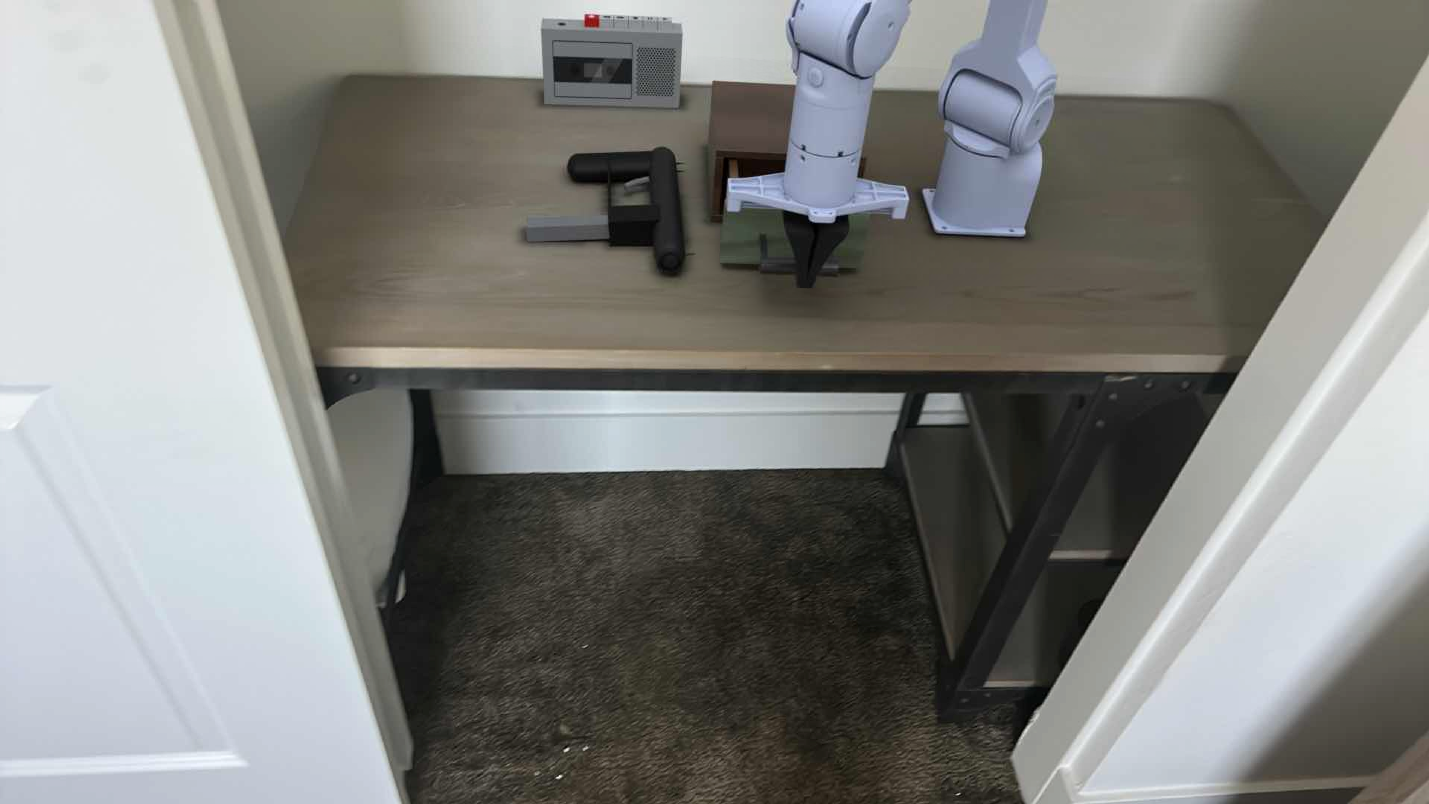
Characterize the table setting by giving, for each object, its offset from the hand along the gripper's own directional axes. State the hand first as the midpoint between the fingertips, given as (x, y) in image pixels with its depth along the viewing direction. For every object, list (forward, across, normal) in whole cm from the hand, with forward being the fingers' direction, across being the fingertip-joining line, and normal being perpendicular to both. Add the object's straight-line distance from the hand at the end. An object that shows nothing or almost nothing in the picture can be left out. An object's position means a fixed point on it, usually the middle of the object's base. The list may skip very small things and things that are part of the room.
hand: (803, 281), depth 89 cm
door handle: (+5, -17, +16) cm, 24 cm away
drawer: (+4, 0, +12) cm, 13 cm away
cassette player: (+5, -18, +41) cm, 45 cm away
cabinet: (+5, 0, +24) cm, 24 cm away
